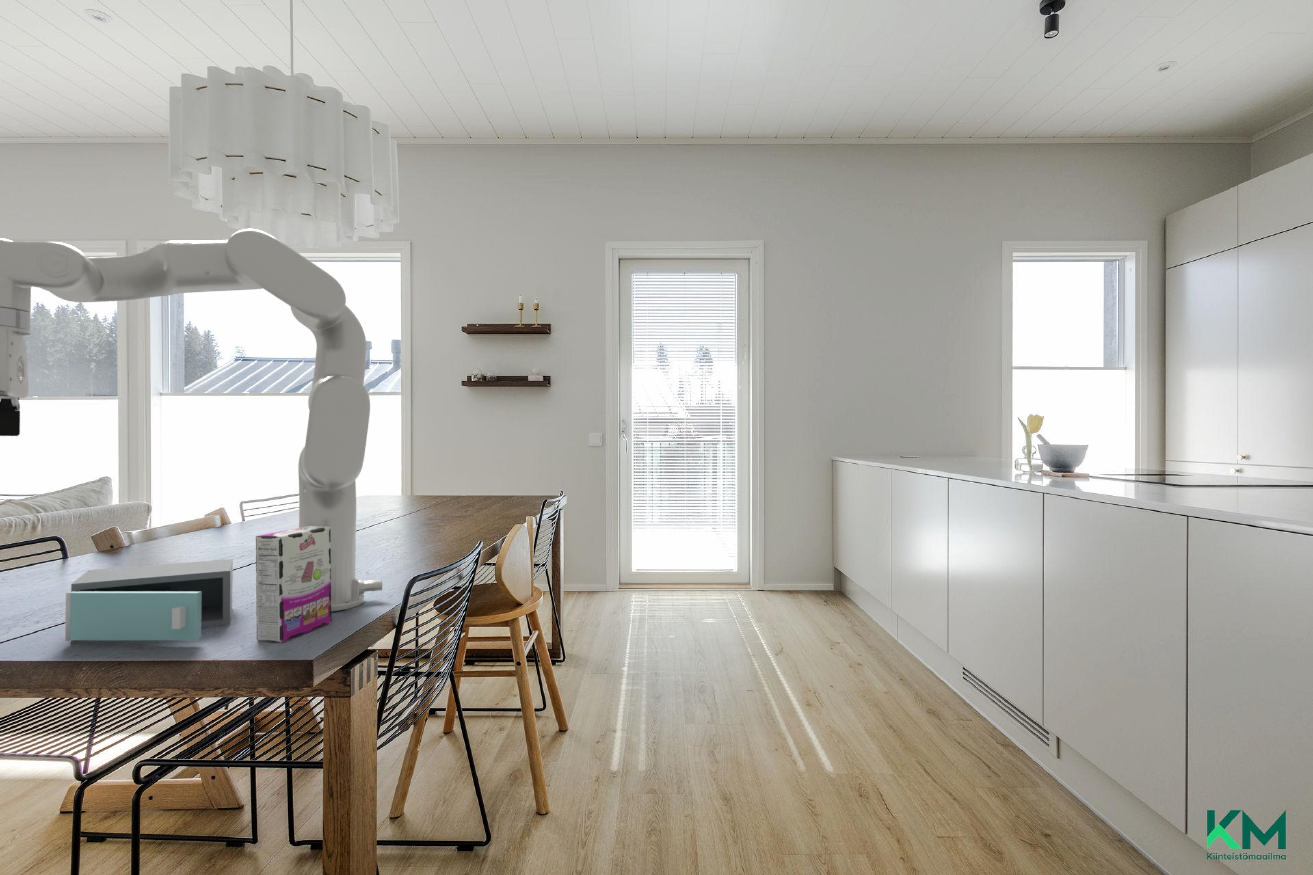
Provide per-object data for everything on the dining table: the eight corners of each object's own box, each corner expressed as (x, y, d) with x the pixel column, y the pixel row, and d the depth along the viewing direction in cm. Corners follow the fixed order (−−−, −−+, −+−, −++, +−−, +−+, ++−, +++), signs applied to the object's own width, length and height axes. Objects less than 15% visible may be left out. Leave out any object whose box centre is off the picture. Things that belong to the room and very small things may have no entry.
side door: (201, 637, 97) (201, 591, 97) (191, 642, 95) (191, 594, 95) (70, 637, 97) (70, 591, 97) (56, 642, 95) (56, 594, 95)
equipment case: (232, 608, 118) (232, 559, 118) (229, 624, 108) (230, 570, 108) (88, 624, 108) (88, 569, 108) (70, 643, 97) (71, 583, 97)
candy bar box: (306, 621, 110) (307, 525, 110) (332, 623, 109) (333, 526, 109) (253, 641, 99) (254, 534, 99) (281, 643, 98) (282, 535, 98)
